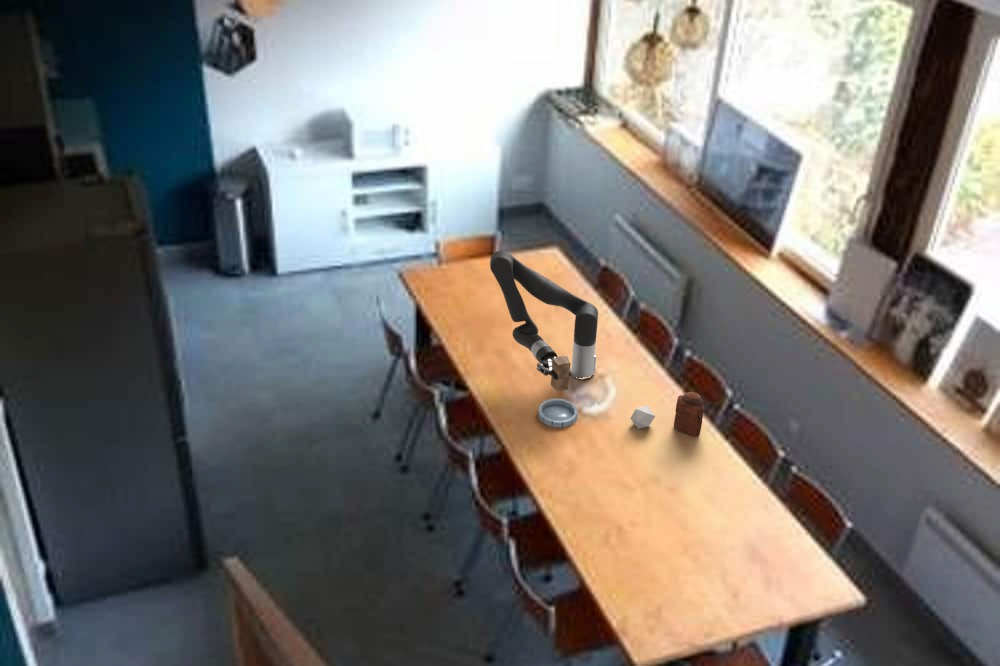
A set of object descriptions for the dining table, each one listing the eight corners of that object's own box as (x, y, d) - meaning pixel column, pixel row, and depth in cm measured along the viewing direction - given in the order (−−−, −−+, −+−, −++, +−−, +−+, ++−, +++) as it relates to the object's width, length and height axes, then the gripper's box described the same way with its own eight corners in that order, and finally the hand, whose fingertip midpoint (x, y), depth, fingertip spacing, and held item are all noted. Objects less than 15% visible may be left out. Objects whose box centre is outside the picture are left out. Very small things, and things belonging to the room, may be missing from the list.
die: (645, 417, 421) (632, 400, 417) (662, 417, 414) (649, 400, 410) (636, 433, 417) (622, 416, 413) (652, 433, 410) (639, 417, 406)
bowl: (565, 399, 428) (565, 394, 427) (583, 421, 417) (584, 416, 415) (531, 409, 422) (531, 404, 421) (549, 431, 411) (549, 426, 409)
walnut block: (561, 382, 414) (563, 355, 407) (567, 389, 411) (570, 362, 403) (550, 385, 412) (552, 358, 405) (556, 392, 409) (558, 365, 401)
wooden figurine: (703, 430, 414) (710, 394, 404) (698, 439, 409) (704, 402, 399) (676, 420, 418) (681, 384, 408) (670, 429, 414) (675, 393, 404)
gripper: (528, 349, 413) (547, 372, 401) (559, 341, 419) (580, 364, 406) (527, 364, 418) (546, 388, 405) (558, 356, 423) (579, 379, 410)
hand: (563, 376), depth 406 cm, fingers closed on walnut block, 5 cm apart
